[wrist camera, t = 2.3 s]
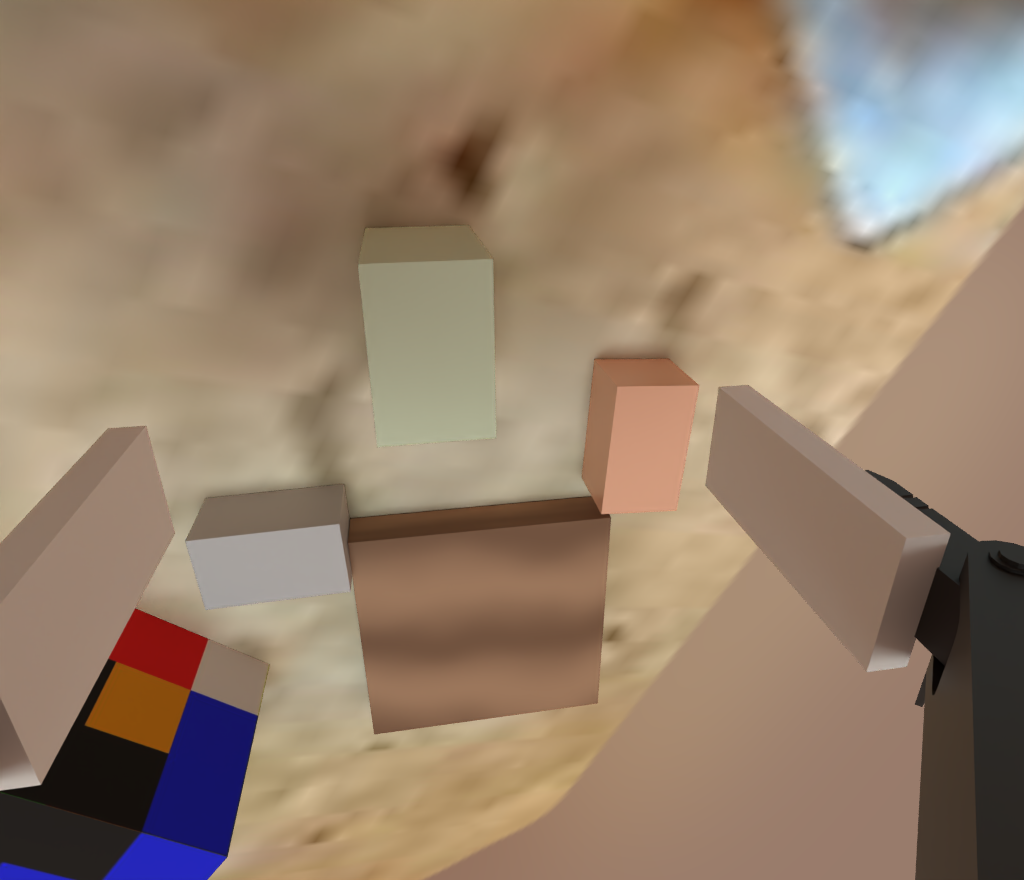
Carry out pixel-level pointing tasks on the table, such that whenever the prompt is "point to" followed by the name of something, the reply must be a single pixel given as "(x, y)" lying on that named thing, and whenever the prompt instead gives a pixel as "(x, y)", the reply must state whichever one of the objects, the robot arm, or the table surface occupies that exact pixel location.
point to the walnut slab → (480, 610)
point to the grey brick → (271, 546)
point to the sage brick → (429, 334)
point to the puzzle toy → (143, 766)
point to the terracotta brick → (637, 434)
